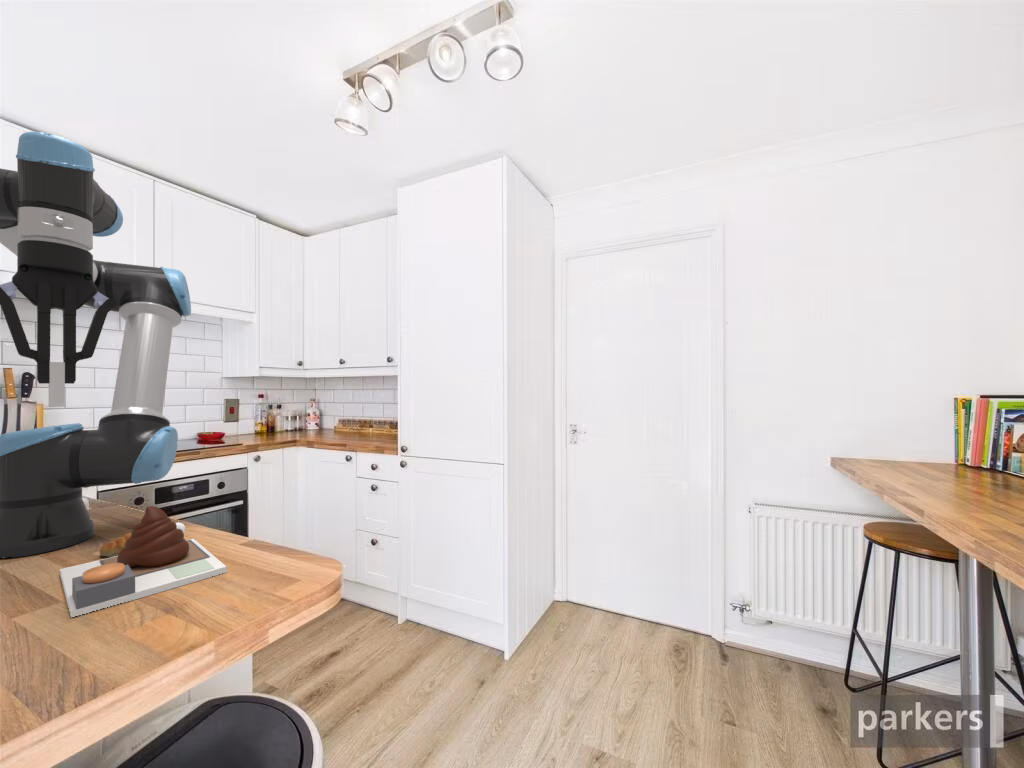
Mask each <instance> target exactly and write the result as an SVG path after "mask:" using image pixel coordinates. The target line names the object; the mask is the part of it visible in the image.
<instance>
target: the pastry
mask: <svg viewBox="0 0 1024 768" xmlns="http://www.w3.org/2000/svg"><path fill="white" fill-rule="evenodd" d="M131 533H132V531H131V532H127V533H125V534H124V535H122V536H120V537H116V538H115V539H113V540H110V541H108V542H106V543H104V544H103V545H102V546H101V548H100V550H99V555H100V556H103V557H107V558H111V557H114V556H118V554H119V553H120V551H121V550H122V549H123V548H125V543H126V541H127V540H128V538H130V537H131Z"/></svg>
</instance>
